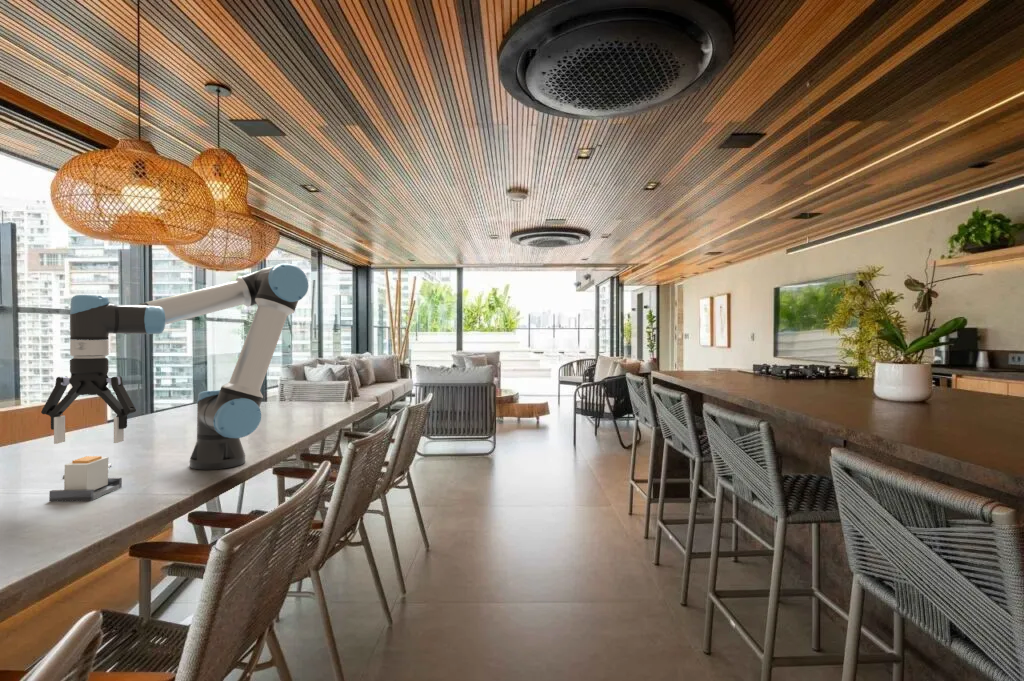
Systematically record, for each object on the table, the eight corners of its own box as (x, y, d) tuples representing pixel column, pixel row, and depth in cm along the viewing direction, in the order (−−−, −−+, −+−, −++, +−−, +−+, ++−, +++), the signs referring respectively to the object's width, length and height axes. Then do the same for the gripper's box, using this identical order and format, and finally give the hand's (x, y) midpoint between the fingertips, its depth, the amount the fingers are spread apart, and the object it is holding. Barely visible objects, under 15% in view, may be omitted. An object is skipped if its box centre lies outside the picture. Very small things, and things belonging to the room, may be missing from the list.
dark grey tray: (121, 487, 138) (121, 477, 138) (90, 501, 126) (90, 490, 126) (84, 487, 137) (84, 477, 137) (49, 501, 125) (49, 491, 125)
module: (107, 484, 136) (108, 454, 136) (86, 493, 128) (87, 462, 128) (86, 484, 135) (87, 455, 135) (64, 493, 127) (64, 462, 127)
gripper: (22, 357, 127) (22, 446, 127) (134, 358, 130) (134, 444, 130) (46, 356, 134) (46, 440, 134) (151, 356, 137) (151, 438, 137)
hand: (89, 442), depth 132 cm, fingers open, 13 cm apart
